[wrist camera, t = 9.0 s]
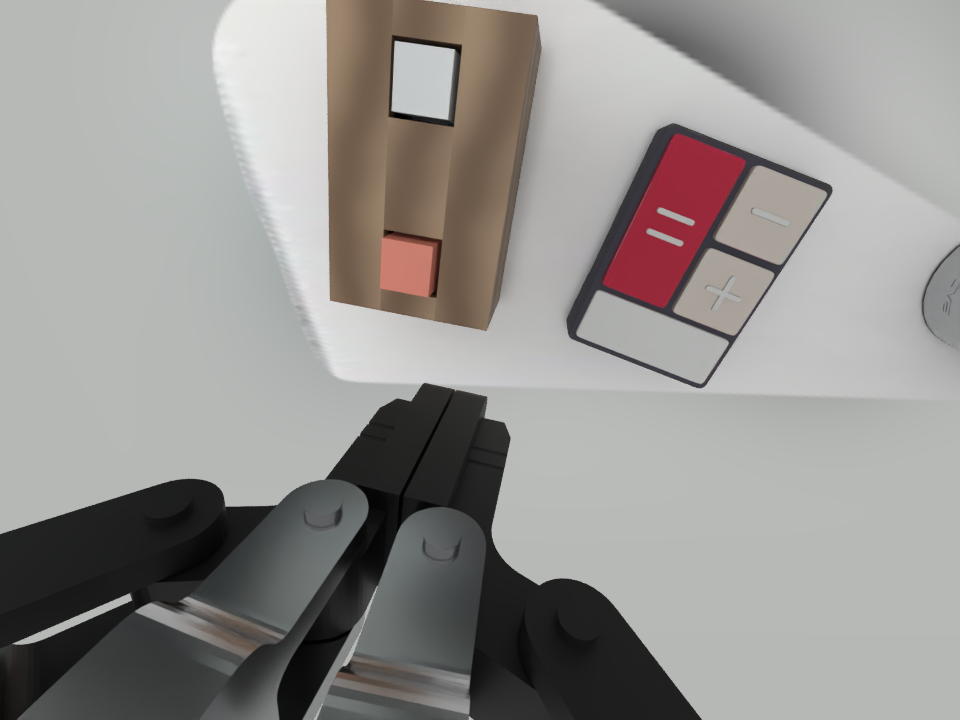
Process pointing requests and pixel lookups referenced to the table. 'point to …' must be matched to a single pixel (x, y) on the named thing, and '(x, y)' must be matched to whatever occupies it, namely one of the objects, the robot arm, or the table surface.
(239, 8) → the table surface
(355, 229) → the block
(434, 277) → the red plug
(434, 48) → the grey plug
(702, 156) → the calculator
